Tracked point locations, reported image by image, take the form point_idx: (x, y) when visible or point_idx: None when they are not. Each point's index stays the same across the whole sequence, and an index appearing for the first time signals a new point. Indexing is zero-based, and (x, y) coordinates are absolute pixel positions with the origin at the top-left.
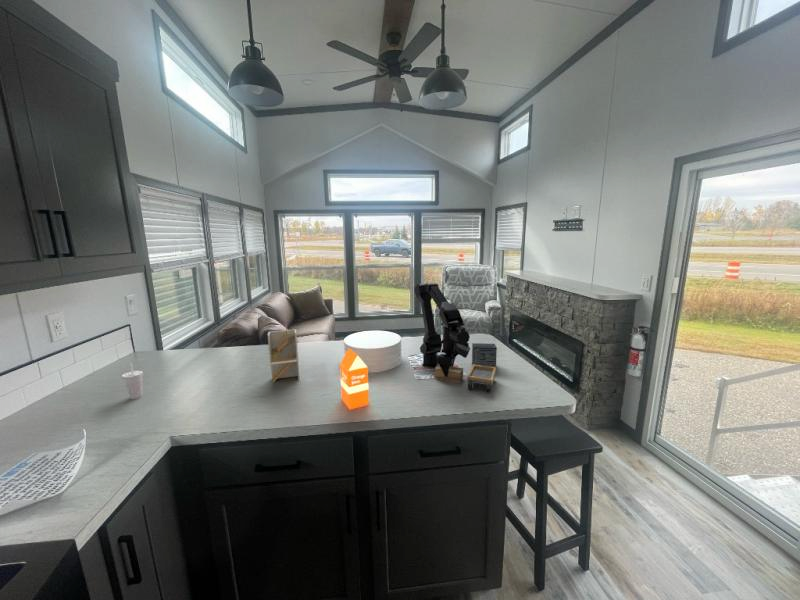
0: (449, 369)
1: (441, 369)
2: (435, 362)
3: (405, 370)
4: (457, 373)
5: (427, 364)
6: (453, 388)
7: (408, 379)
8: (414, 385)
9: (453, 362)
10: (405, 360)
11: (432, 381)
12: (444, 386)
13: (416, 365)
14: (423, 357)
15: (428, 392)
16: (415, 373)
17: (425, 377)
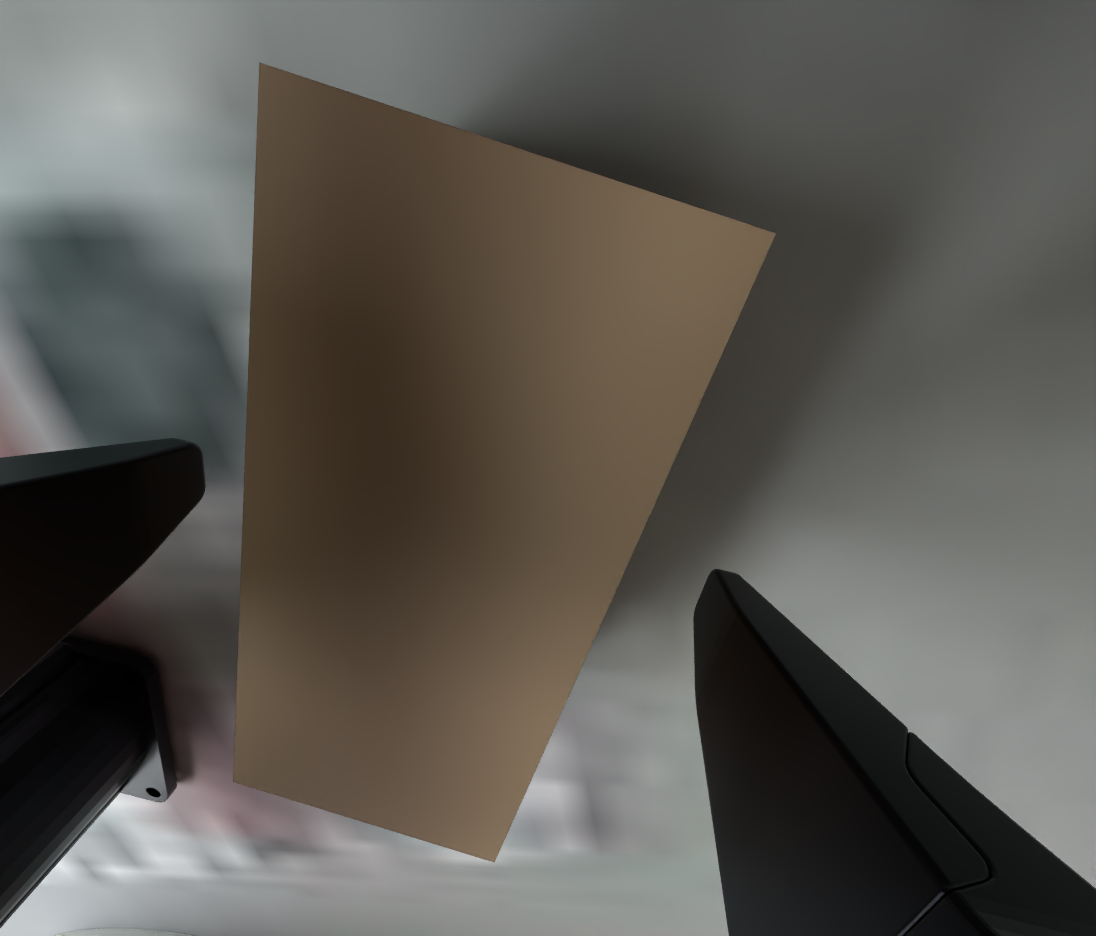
0: (516, 593)
1: (537, 757)
2: (39, 703)
3: (377, 917)
4: (720, 330)
5: (135, 763)
6: (960, 375)
7: (615, 909)
8: None
9: (11, 501)
10: (120, 903)
11: (647, 697)
12: (845, 539)
13: (193, 830)
14: (26, 896)
15: (1048, 755)
16: (427, 849)
17: None
